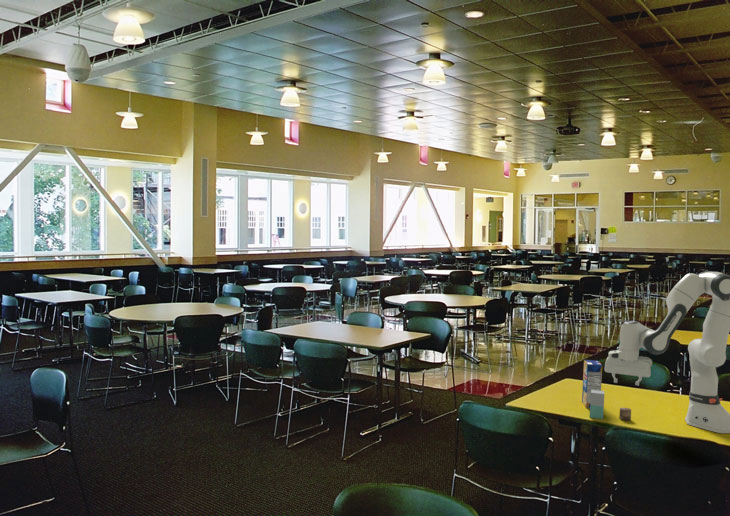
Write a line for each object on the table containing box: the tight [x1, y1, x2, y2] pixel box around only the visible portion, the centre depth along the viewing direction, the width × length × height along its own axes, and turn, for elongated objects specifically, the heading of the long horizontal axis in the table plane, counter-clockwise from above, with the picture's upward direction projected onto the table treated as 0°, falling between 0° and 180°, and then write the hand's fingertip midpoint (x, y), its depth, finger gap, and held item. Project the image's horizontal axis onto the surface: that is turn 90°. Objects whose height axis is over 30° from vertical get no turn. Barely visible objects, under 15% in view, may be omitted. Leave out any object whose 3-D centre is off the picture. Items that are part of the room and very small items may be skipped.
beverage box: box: [581, 359, 603, 409], centre depth 316 cm, size 7×11×22 cm, turn 171°
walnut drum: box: [619, 407, 632, 422], centre depth 294 cm, size 5×5×5 cm
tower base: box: [589, 405, 605, 420], centre depth 297 cm, size 6×6×6 cm
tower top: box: [590, 390, 605, 407], centre depth 297 cm, size 6×6×6 cm
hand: (626, 383), depth 294 cm, fingers open, 8 cm apart
